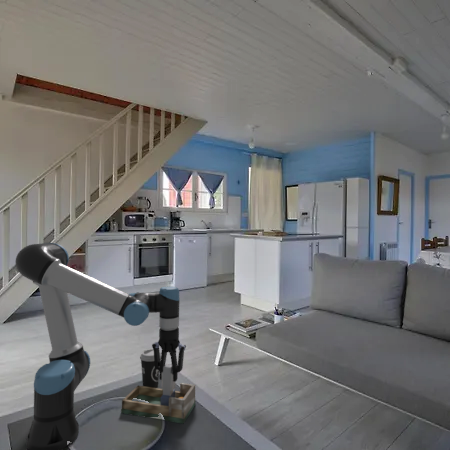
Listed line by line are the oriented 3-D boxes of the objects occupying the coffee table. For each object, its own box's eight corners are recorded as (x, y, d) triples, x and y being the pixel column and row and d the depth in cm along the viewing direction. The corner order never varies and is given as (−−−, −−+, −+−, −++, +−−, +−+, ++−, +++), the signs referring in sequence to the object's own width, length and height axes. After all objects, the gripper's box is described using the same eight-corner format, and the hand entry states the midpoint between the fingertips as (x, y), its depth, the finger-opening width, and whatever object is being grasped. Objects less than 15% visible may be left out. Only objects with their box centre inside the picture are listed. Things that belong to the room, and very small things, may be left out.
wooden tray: (121, 413, 119) (121, 391, 120) (138, 395, 132) (138, 376, 132) (183, 423, 114) (183, 401, 114) (195, 404, 126) (195, 384, 126)
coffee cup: (154, 379, 147) (155, 346, 147) (165, 386, 140) (166, 352, 140) (135, 385, 140) (136, 351, 141) (146, 394, 133) (146, 358, 134)
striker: (160, 409, 119) (161, 369, 119) (168, 400, 126) (168, 361, 126) (167, 410, 118) (168, 369, 118) (175, 401, 125) (175, 362, 125)
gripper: (192, 326, 124) (191, 386, 124) (154, 323, 128) (153, 381, 128) (185, 332, 117) (184, 396, 117) (145, 328, 121) (144, 390, 120)
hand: (168, 388), depth 122 cm, fingers closed on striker, 3 cm apart
